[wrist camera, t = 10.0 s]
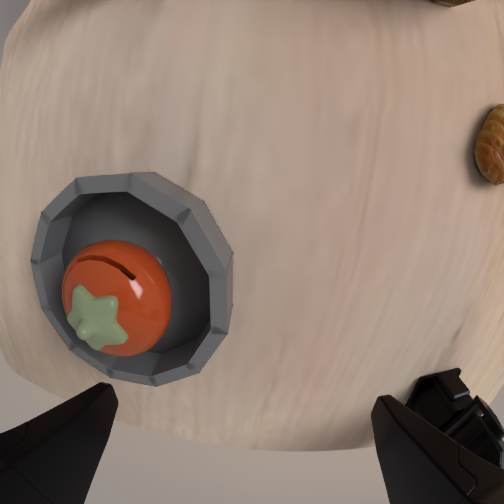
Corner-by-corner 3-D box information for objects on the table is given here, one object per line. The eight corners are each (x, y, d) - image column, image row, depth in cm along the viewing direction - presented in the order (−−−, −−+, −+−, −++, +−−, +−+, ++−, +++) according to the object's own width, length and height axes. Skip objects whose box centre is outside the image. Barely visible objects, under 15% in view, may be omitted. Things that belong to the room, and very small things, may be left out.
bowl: (233, 362, 22) (229, 395, 18) (80, 340, 22) (60, 364, 18) (235, 170, 18) (229, 170, 14) (54, 180, 18) (22, 185, 14)
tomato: (194, 240, 18) (151, 290, 10) (179, 333, 20) (146, 408, 12) (98, 217, 17) (23, 247, 10) (95, 306, 19) (40, 362, 12)
